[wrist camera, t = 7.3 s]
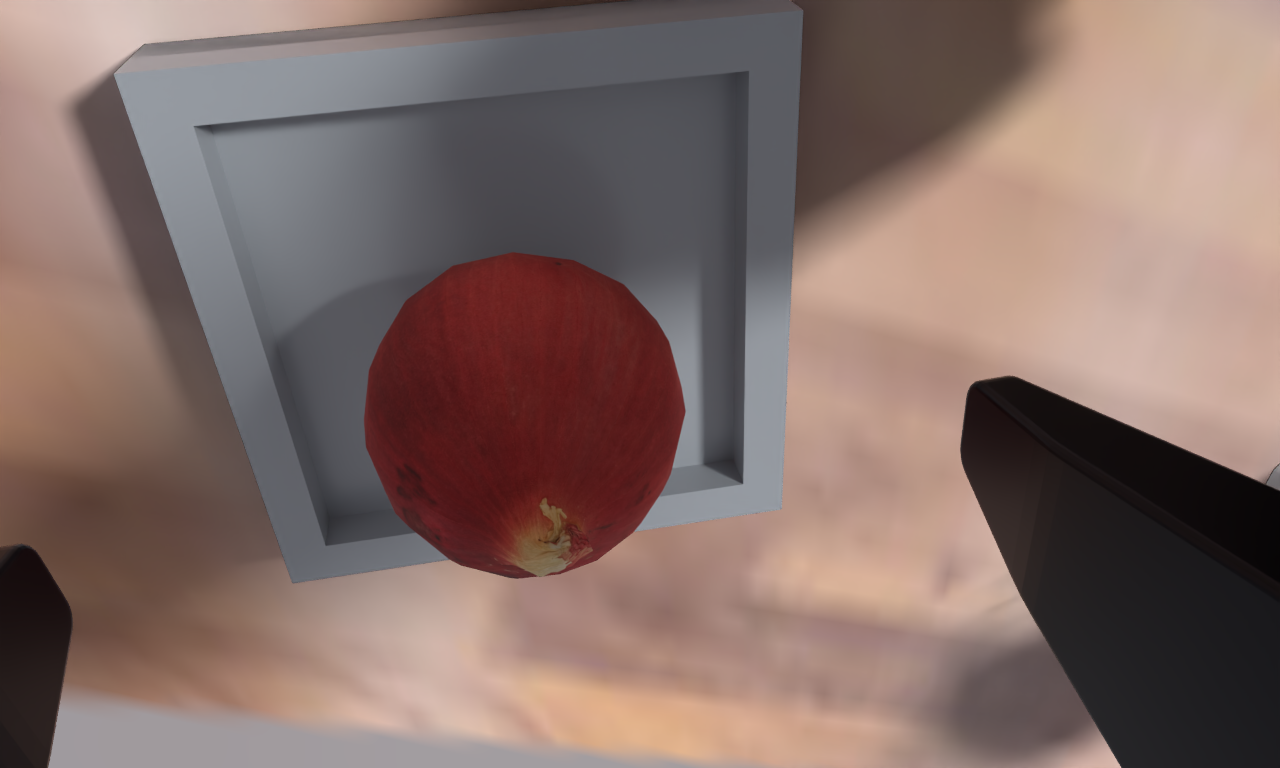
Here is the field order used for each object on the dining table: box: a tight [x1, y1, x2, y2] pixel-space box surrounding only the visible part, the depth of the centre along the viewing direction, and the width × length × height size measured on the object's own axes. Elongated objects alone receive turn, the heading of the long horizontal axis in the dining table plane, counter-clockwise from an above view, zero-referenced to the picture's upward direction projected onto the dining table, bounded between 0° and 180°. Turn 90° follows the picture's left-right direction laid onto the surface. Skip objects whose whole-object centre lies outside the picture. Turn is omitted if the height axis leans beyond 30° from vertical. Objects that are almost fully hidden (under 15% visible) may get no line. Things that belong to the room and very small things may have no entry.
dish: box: [114, 0, 803, 583], centre depth 21 cm, size 12×12×2 cm
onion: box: [364, 252, 686, 579], centre depth 18 cm, size 6×6×8 cm
